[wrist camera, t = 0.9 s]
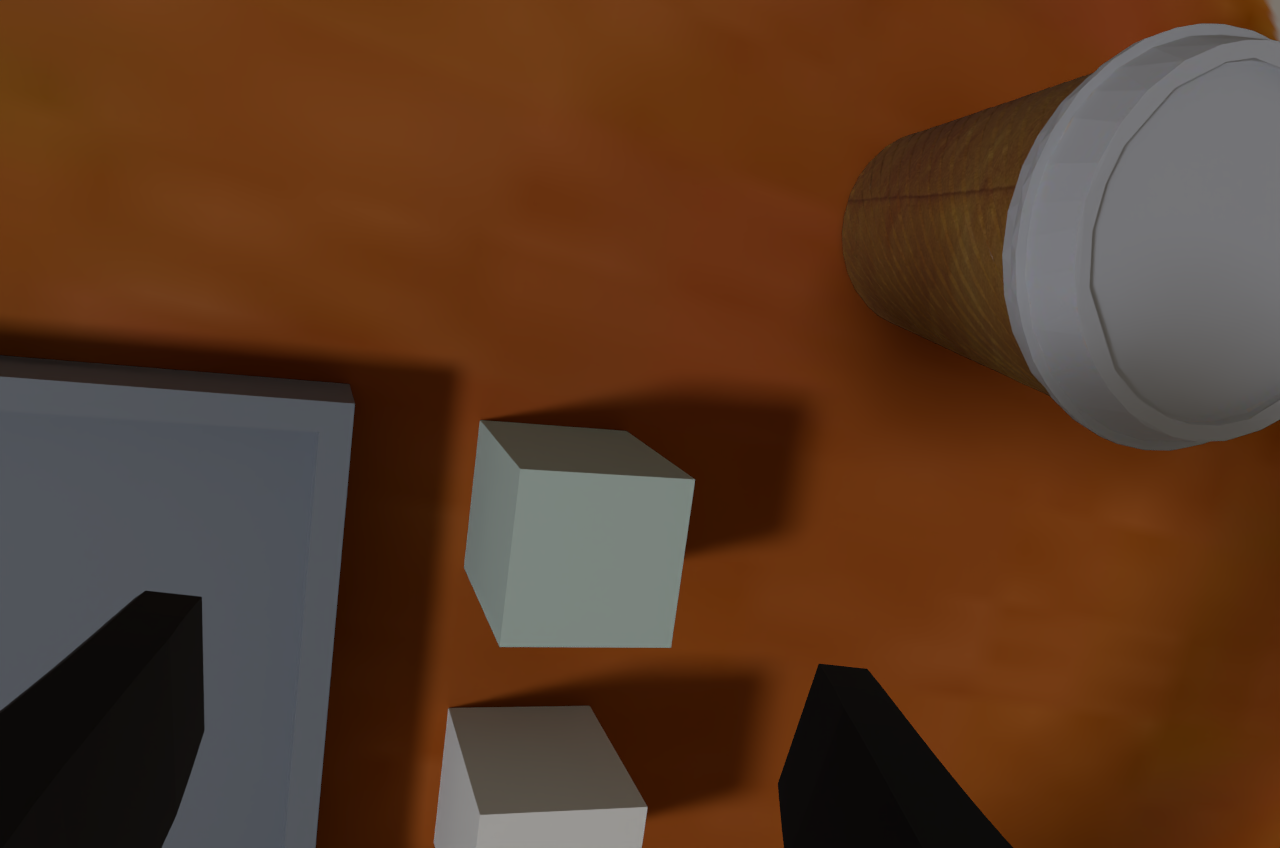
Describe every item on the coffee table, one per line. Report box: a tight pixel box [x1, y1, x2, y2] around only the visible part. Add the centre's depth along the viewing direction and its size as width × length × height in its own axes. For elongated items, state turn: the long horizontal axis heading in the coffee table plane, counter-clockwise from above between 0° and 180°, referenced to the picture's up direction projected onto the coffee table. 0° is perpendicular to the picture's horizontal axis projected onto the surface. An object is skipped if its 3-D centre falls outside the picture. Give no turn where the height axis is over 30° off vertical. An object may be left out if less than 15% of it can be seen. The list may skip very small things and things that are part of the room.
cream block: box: [434, 706, 648, 848], centre depth 30 cm, size 4×4×6 cm
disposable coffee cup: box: [842, 24, 1280, 450], centre depth 28 cm, size 10×10×12 cm
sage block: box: [464, 420, 695, 648], centre depth 29 cm, size 4×4×6 cm
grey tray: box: [0, 355, 355, 848], centre depth 27 cm, size 17×12×3 cm
